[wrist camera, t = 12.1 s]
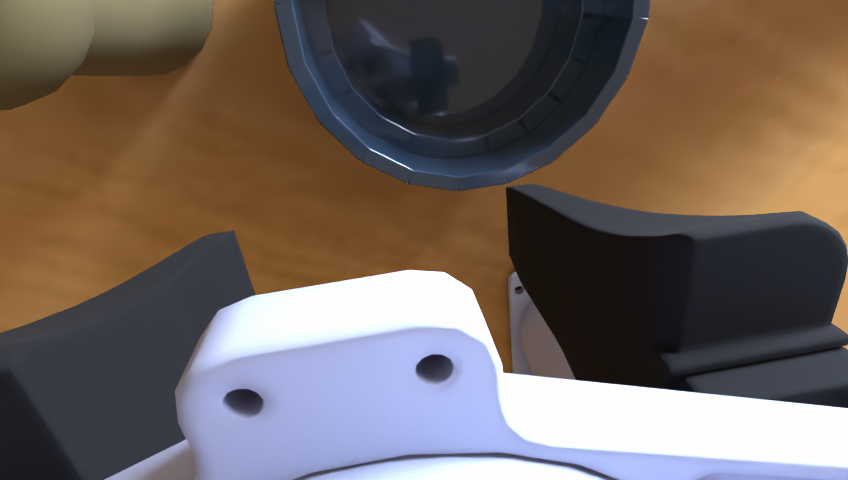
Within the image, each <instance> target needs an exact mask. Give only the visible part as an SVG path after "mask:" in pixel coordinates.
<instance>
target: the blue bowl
mask: <svg viewBox="0 0 848 480" xmlns="http://www.w3.org/2000/svg"><path fill="white" fill-rule="evenodd" d="M273 3H274V10H275V14H276V18H277V22H278V27H279V31H280V35H281V39H282V44H283V48H284V52H285V56H286V61H287V65H288V68H289V71H290V73H291V75H292V76H293V78H294V80H295V82H296V83H297V85H298V87H299V89H300V90H301V92H302V94H303V96H304V97H305V99H306V101H307V103H308V104H309V106H310V108H311V110H312V111H313V113H314V115H315V117H316V118H317V120H318V122H320V124H321V125H322V126H323V127H324V128H325V129H326V130H327V131H328V132H330V133H331V134H332V135H333V136H334V137H335V138H336V139H337V140H338V141H339V142H340V143H341V144H342V145H343V146H344V147H345V148H347V149H348V150H349V151H350V152H351V153H352V154H353V155H354V156H355V157H356V158H357V159H358V160H361V162H363V163H365V164H367V165H369V166H371V167H373V168H375V169H377V170H379V171H381V172H383V173H385V174H387V175H389V176H392V177H394V178H396V179H398V180H400V181H402V182H404V183H408V184H410V185H417V186H423V187H430V188H437V189H444V190H451V191H457V190H458V191H463V190H470V189H476V188H482V187H488V186H495V185H501V184H506V183H510V182H512V181H514V180H516V179H518V178H520V177H522V176H524V175H526V174H529V173H531V172H533V171H535V170H537V169H539V168H541V167H543V166H545V165H547V164H550V163H552V162H553V160H556V159H557V158H558V157H560V156H561V155H562V154H563V153H564V152H565V151H566V150H568V149H569V148H570V147H571V146H572V145H573V144H574V143H576V142H577V141H578V140H579V139H580V138H581V137H582V136H584V135H585V134H586V133H587V132H588V131H589V130H591V129H592V128H593V127H594V126H595V125H594V124H597V122H598V121H599V119H600V118H601V116H602V115H603V113H604V112H605V110H606V109H607V107H608V106H609V104H610V103H611V101H612V100H613V98H614V97H615V95H616V94H617V92H618V91H619V89H620V88H621V87H622V85H623V84H624V82H625V81H626V79H627V76H628V75H629V73H630V70H631V67H632V64H633V61H634V58H635V56H636V53H637V50H638V47H639V44H640V42H641V39H642V36H643V33H644V30H645V27H646V25H647V22H648V19H647V18H648V17H649V9H650V0H273Z"/></svg>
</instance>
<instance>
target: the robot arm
mask: <svg viewBox="0 0 848 480" xmlns="http://www.w3.org/2000/svg"><path fill="white" fill-rule="evenodd" d="M506 196H507V217H508V239H509V255H510V258H511V260H512V263H513V265H514V268H515V270H516V272H513V273H512V274H510V276H509V277H508V293H509V313H510V334H511V354H512V374H511V373H504V372H503V368H502V362H501V360H500V357H499V355H498V352H497V350H496V347H495V345H494V342H493V340H492V337H491V335H490V332H489V329H488V327H487V324H486V322H485V319H484V317H483V314H482V312H481V310H480V307H479V305H478V303H477V300H476V298H475V296H474V293H473V291H472V289H470V288H469V287H467V286H466V285H464V284H463V283H461V282H459V281H458V280H456V279H455V278H453V277H452V276H450V275H448V274H447V273H445V272H434V271H419V270H405V271H399V272H393V273H387V274H381V275H375V276H369V277H363V278H357V279H351V280H345V281H339V282H333V283H327V284H321V285H315V286H309V287H303V288H297V289H291V290H285V291H279V292H273V293H267V294H261V295H255V292H254V289H253V286H252V283H251V280H250V277H249V274H248V271H247V268H246V265H245V262H244V259H243V256H242V253H241V250H240V247H239V244H238V241H237V238H236V235H235V232H234V231H227V232H221V233H215V234H210V235H207V236H204V237H202V238H200V239H198V240H196V241H194V242H192V243H190V244H189V245H187V246H185V247H183V248H182V249H180V250H178V251H177V252H175V253H174V254H172V255H170V256H169V257H167V258H165V259H164V260H162V261H160V262H159V263H157V264H155V265H154V266H152V267H150V268H148V269H147V270H145V271H143V272H141V273H140V274H138V275H136V276H134V277H133V278H131V279H129V280H127V281H125V282H124V283H122V284H120V285H118V286H116V287H114V288H112V289H110V290H108V291H106V292H104V293H102V294H100V295H98V296H96V297H94V298H92V299H89V300H87V301H85V302H83V303H81V304H78V305H76V306H74V307H71V308H69V309H66V310H64V311H61V312H58V313H56V314H53V315H51V316H48V317H45V318H43V319H40V320H38V321H35V322H33V323H30V324H27V325H24V326H21V327H18V328H15V329H12V330H9V331H6V332H3V333H0V480H848V350H847V349H845V348H844V347H843V346H845V345H847V344H848V335H847V333H845V332H844V331H842V330H841V329H839V328H838V327H836V326H835V325H833V324H832V323H831V322H832V318H833V315H834V312H835V309H836V306H837V303H838V300H839V297H840V293H841V290H842V287H843V284H844V281H845V277H846V271H847V265H848V255H847V248H846V244H845V242H844V240H843V239H842V237H841V235H840V233H839V232H838V231H837V230H835V229H834V228H833V227H831V226H830V225H828V224H827V223H825V222H823V221H821V220H819V219H817V218H815V217H813V216H811V215H809V214H806V213H804V212H800V211H796V212H783V213H769V214H756V215H739V216H693V215H677V214H662V213H653V212H645V211H639V210H632V209H626V208H621V207H616V206H611V205H607V204H603V203H599V202H595V201H591V200H587V199H584V198H580V197H577V196H574V195H570V194H567V193H564V192H561V191H557V190H554V189H551V188H547V187H544V186H540V185H536V184H524V185H517V186H511V187H506ZM518 286H522V287H521V289H520V290H518V291H515V288H516V287H518Z"/></svg>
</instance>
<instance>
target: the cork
mask: <svg viewBox="0 0 848 480" xmlns="http://www.w3.org/2000/svg"><path fill="white" fill-rule="evenodd" d="M212 14H213V0H0V110H11V109H14V108H17V107H20V106H23V105H26V104H28V103H30V102H33V101H35V100H37V99H40V98H42V97H44V96H47V95H49V94H51V93H53V92H56V91H57V90H58V89H59V88H60V86H61V85H62V84H63V83H64V82H65V81H66V80H67V79H68V78H69V77H70V76H143V75H158V74H166V73H169V72H171V71H173V70H176V69H178V68H180V67H183V66H185V65H186V64H187V63H188V62H189V61H190V60H192V59H193V58H194V57H195V56H196V55H197V54H198V53H199V52H200V51H201V50H202V48H203V45H204V43H205V41H206V39H207V37H208V34H209V32H210V30H211V26H212Z"/></svg>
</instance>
